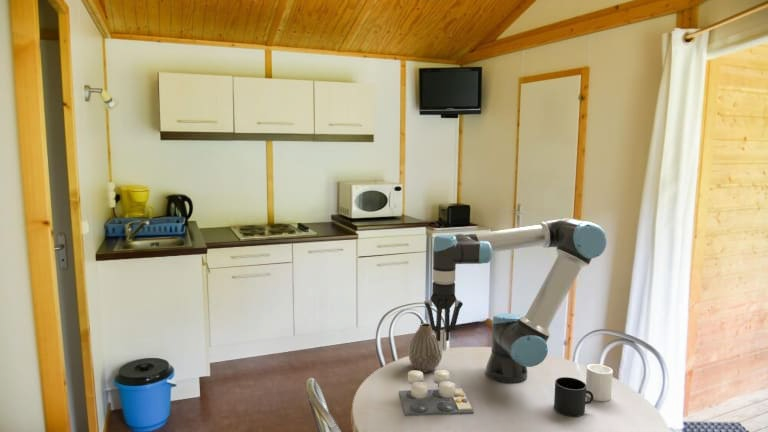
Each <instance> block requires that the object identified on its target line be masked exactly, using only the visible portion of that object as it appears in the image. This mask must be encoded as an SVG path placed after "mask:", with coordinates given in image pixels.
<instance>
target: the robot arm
mask: <svg viewBox="0 0 768 432" xmlns="http://www.w3.org/2000/svg"><path fill="white" fill-rule="evenodd" d="M540 246H541V247H542V248H544V249H546V248H556V249H555V251H556V253H557V257H556V258H555V261H554V262H553V265H552V266H551V268H550V270H549V271H548V273H547V275H546V277H545V279H544V281H543V283H542V285H541V287H539V290H538V291H537V294H536V295H535V297H534V299H533V301H532V303H531V305H530V307H529V308H528V310H527V312H526V314H525V315H521V314H518V313H497V314H495V315H493V317H492V323H491V326H492V327H491V354H490V356H489V359H488V361H487V362H486V363H487V364H486V366H485V370H486V371H485V372H486V373H485V374H486V375H487V376H488V377H489V378H490V379H492V380H495V381H498V382H502V383H508V384H509V383H511V384H514V383H521V382H523V381H525V380H527V378H528V368H533V367H535V366H538V365H540V364H542V363H543V362H544V361H545V359H546V358H547V357H548V356H547V355H548V352H549V348H548V343H547V342H548V339H549V338H550V336H551V334H550V331H549V328H550V326H551V325H552V323H553V321H554V319H555V317H556V315H557V313H558V311H559V310H560V308H561V306H562V304H563V302H564V300H565V299H566V297H567V295H568V294H569V292H570V290H571V288H572V287H573V284H574V282H575V280H576V279H577V277H578V275H579V273H580V271H581V270H582V268H584V267H589V265H590V264H591V261H592V259H596V258H597V257H600V256H601V255H602V254H603V252H604V251H605V250H606V247H607V236H606V232H605V230H604V228H602V227H601V226H600V225H598V224H595V223H593V222H591V221H587V220H586V221H585V220H580V219H577V218H574V217H566V218H559V219H553V220H548V221H540V222H539V223H538V225H530V226H524V227H523V226H522V227H516V228H507V229H501V230H493V231H485V232H479V233H478V232H477V233H469V234H463V233H456V234H454V235H451V234H450V235H449V234H448V235H447V234H439V235H436V236H435V237H434V238H433V245H432V283H431V284H432V288H431V289H432V291H431V292H432V293H431V296H430V299H428V300H425V301H424V302H423V304H424V305H425V307H426V310H427V311H426V312H427V314H428V319H429V324H430V325H431V328H432V330H433V331H434V332H435V333H436V339H437V341H439V350H440V351H442V352H446V351H447V342H448V341H449V340H450V332H451V331H454V330H456V325H457V321H458V317H459V314H460V310H461V308H462V306H463V305H464V303H463V302H462V301H461V300H458V299H457V297H456V283H455V282H456V268H457V267H456V265H462V264H463V265H471V264H472V265H475V264H478V265H481V264H488V263H490V262H491V260H492V258H493V257H492V256H493V253H498V252H503V251H511V250H519V249H525V248H533V247H540ZM433 305H434V306H435V308H436V318H435V320H436V321H435V320H434V314H433V309H432V306H433ZM453 305H454V307H453V312H452V316H451V319H450V314H451V311H450V310H451V308H452V306H453ZM443 310H444V329H442V313H443Z"/></svg>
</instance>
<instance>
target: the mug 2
mask: <svg viewBox="0 0 768 432" xmlns="http://www.w3.org/2000/svg"><path fill="white" fill-rule="evenodd" d="M613 373H614V370H613V369H612V368H611V367H609V366H607V365H604V364H601V363H600V364H598V363H592V364H591V363H588V364H587V365H586V375H585V376H586V378H585V384H586V390H588V391H590V392H592V394H593V400H594V401H596V402H609V401H610V400H611V399H612V389H613V375H614V374H613ZM586 397H587V398H589V399H590V398H591V396H590V394H588V393H586Z"/></svg>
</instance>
